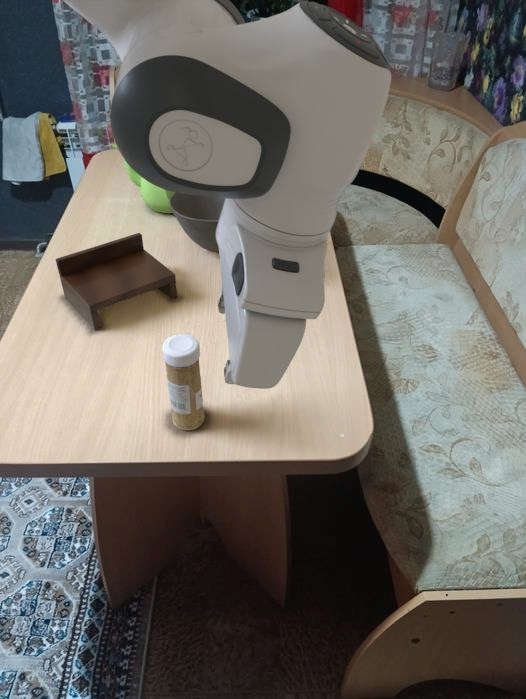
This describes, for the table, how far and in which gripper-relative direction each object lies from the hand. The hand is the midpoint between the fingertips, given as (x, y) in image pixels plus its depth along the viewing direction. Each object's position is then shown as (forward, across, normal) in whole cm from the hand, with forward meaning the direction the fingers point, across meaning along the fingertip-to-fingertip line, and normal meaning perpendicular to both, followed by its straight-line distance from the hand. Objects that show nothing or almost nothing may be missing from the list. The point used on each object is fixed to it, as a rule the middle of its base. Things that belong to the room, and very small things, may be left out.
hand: (228, 342), depth 55 cm
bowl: (+28, -55, +10) cm, 63 cm away
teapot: (+34, -77, +1) cm, 84 cm away
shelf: (+30, -37, -9) cm, 49 cm away
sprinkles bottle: (+23, -6, +1) cm, 24 cm away
